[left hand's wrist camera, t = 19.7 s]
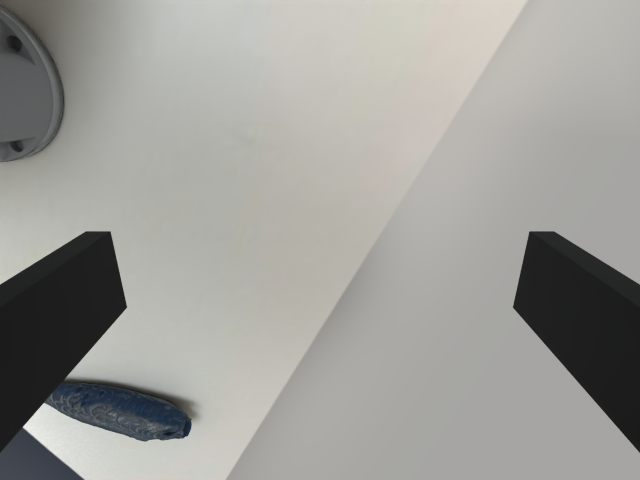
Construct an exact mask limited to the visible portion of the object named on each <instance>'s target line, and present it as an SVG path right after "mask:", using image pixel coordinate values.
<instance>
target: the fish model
mask: <svg viewBox="0 0 640 480" xmlns="http://www.w3.org/2000/svg"><path fill="white" fill-rule="evenodd" d="M44 403H46V404H48V405H50V406H51V407H53V408H55V409H56V410H58V411H59V412H61V413H63V414H65V415H67V416H69V417H71V418H73V419H76V420H78V421H80V422H83V423H86V424H90V425H92V426H96V427H99V428H103V429H105V430H109V431H112V432H116V433H119V434H124V435H126V436H129V437H132V438H135V439H137V440H141V441H148V440H153V439H160V440H169V439H174V438H177V439H180V438H184V437H185V436H188V434H189V432H190V430H191V419H190V418H189V417H188V415H187V414H186V413H185V412H184V411H183V410H181V409H179V408H177V407H175V406H174V405H173V404H171V403H170V402H168V401H165V400H163V399H160V398H156V397H153V396H149V395H147V394H142V393H139V392H136V391H132V390H128V389H122V388H118V387H112V386H106V385H98V384H87V383H76V384H73V383H61V384H60V385H59V386H58V387H57V388H56V389H55V390H54V392H53V393H52V394H51V395H50V396H49V397H48V398H47V400H46V401H45V402H44Z"/></svg>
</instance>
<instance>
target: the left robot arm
mask: <svg viewBox="0 0 640 480" xmlns="http://www.w3.org/2000/svg"><path fill="white" fill-rule="evenodd" d="M62 113H63V92H62V86H61V81H60V78H59V75H58V72H57V69H56V67H55V64H54V62H53V60H52V58H51V56H50V54H49V53H48V51H47V49H46V48H45V46H44V45H43V43H42V42H41V41H40V39H39V38H38V37H37V36H36V34H35V33H34V32H33V31H32V30H31V29H30V28H29V27H28V26H27V25H26V24H25V23H24V22H23V21H22V20H20V19H19V18H18V17H17V16H15V15H14V14H13V13H11V12H10V11H8V10H7V9H5V8H3V7H1V6H0V162H8V161H13V160H17V159H21V158H25V157H28V156H31V155H33V154H35V153H37V152H39V151H40V150H42V149H43V148H44V147H45V146H46V145H47V144H48V143H49V142H50V141H51V140H52V139H53V137H54V136H55V134H56V132H57V130H58V128H59V126H60V122H61V119H62ZM126 308H127V305H126V301H125V296H124V291H123V287H122V282H121V278H120V273H119V268H118V264H117V259H116V255H115V250H114V245H113V241H112V236H111V232H84V233H83V234H81V235H80V236H78V237H76V238H75V239H73V240H72V241H70V242H68V243H67V244H65V245H63V246H62V247H60V248H59V249H57V250H55V251H54V252H52V253H51V254H49V255H47V256H46V257H44V258H42V259H41V260H39V261H38V262H36V263H34V264H33V265H31V266H30V267H28V268H26V269H25V270H23V271H22V272H20V273H18V274H17V275H15V276H13V277H12V278H10V279H9V280H7V281H5V282H4V283H2V284H1V285H0V452H1V451H2V450H3V449H4V448H5V447H6V445H7V444H8V443H9V442H10V441H11V440H12V439H13V437H14V436H15V435H16V434H17V433H18V432H19V430H20V429H21V428H22V427H23V426H24V425H25V424H26V423H27V421H28V420H29V419H30V418H31V417H32V416H33V415H34V413H35V412H36V411H37V410H38V409H39V408H40V406H41V405H42V404H43V403H44V402H45V401H46V400H47V398H48V397H49V396H50V395H51V394H52V393H53V392H54V390H55V389H56V388H57V387H58V386H59V385H60V384H61V382H62V381H63V380H64V379H65V378H66V377H67V376H68V374H69V373H70V372H71V371H72V370H73V369H74V368H75V366H76V365H77V364H78V363H79V362H80V361H81V360H82V358H83V357H84V356H85V355H86V354H87V353H88V352H89V350H90V349H91V348H92V347H93V346H94V345H95V344H96V342H97V341H98V340H99V339H100V338H101V337H102V335H103V334H104V333H105V332H106V331H107V330H108V329H109V327H110V326H111V325H112V324H113V323H114V322H115V321H116V319H117V318H118V317H119V316H120V315H121V314H122V313H123V311H124V310H125V309H126ZM513 308H514V309H515V310H516V311H517V313H518V314H519V315H520V316H521V317H522V318H523V319H524V321H525V322H526V323H527V324H528V325H529V326H530V327H531V329H532V330H533V331H534V332H535V333H536V334H537V335H538V337H539V338H540V339H541V340H542V341H543V342H544V344H545V345H546V346H547V347H548V348H549V349H550V350H551V352H552V353H553V354H554V355H555V356H556V357H557V358H558V360H559V361H560V362H561V363H562V364H563V365H564V366H565V368H566V369H567V370H568V371H569V372H570V373H571V374H572V376H573V377H574V378H575V379H576V380H577V381H578V382H579V384H580V385H581V386H582V387H583V388H584V389H585V390H586V392H587V393H588V394H589V395H590V396H591V397H592V398H593V400H594V401H595V402H596V403H597V404H598V405H599V406H600V408H601V409H602V410H603V411H604V412H605V413H606V415H607V416H608V417H609V418H610V419H611V420H612V421H613V422H614V424H615V425H616V426H617V427H618V428H619V429H620V431H621V432H622V433H623V434H624V435H625V436H626V437H627V439H628V440H629V441H630V442H631V443H632V444H633V445H634V447H635V448H636V449H637V450H638V451H639V452H640V285H639V284H638V283H636V282H635V281H633V280H631V279H630V278H628V277H627V276H625V275H623V274H622V273H620V272H618V271H617V270H615V269H614V268H612V267H610V266H609V265H607V264H606V263H604V262H602V261H601V260H599V259H598V258H596V257H594V256H593V255H591V254H589V253H588V252H586V251H585V250H583V249H581V248H580V247H578V246H577V245H575V244H573V243H572V242H570V241H568V240H567V239H565V238H564V237H562V236H560V235H559V234H557V233H556V232H529V236H528V241H527V245H526V250H525V255H524V259H523V264H522V269H521V273H520V278H519V282H518V287H517V291H516V296H515V301H514V305H513Z"/></svg>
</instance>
